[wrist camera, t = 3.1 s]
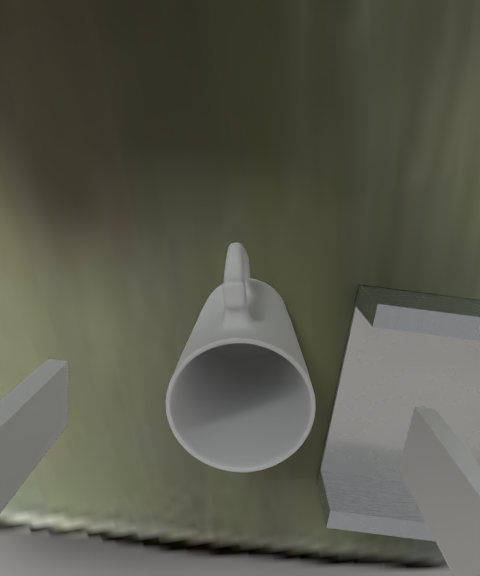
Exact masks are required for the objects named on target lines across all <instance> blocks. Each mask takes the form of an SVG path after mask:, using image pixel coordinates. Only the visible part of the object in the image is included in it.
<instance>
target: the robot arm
mask: <svg viewBox="0 0 480 576" xmlns="http://www.w3.org/2000/svg"><path fill="white" fill-rule="evenodd" d="M68 362H69V361H61V360H54V359H47V360H46V361H45V362H44V363H43V364H42V365H40V366H39V367H38V368H37V369H36V370H35V371H34V372H32V373H31V374H30V375H29V376H28V377H27V378H25V379H24V380H23V381H22V382H21V383H20V384H18V385H17V386H16V387H15V388H14V389H13V390H11V391H10V392H9V393H8V394H7V395H6V396H4V397H3V398H2V399H1V400H0V513H1V512H2V510H3V509H4V508H5V506H6V505H7V504H8V502H9V501H10V500H11V498H12V497H13V496H14V495H15V493H16V492H17V491H18V489H19V488H20V487H21V485H22V484H23V483H24V481H25V480H26V479H27V478H28V476H29V475H30V474H31V472H32V471H33V470H34V468H35V467H36V466H37V464H38V463H39V462H40V461H41V459H42V458H43V457H44V455H45V454H46V453H47V451H48V450H49V449H50V447H51V446H52V445H53V444H54V442H55V441H56V440H57V438H58V437H59V436H60V434H61V433H62V432H63V430H64V429H65V428H66V427H67V419H68ZM398 469H399V471H400V473H401V475H402V476H403V478H404V480H405V482H406V484H407V486H408V488H409V490H410V492H411V494H412V496H413V498H414V500H415V502H416V504H417V506H418V508H419V510H420V512H421V514H422V516H423V518H424V520H425V522H426V524H427V526H428V528H429V530H430V532H431V533H432V535H433V537H434V539H435V541H436V543H437V545H438V547H439V549H440V551H441V553H442V555H443V557H444V559H445V561H446V563H447V565H448V567H449V569H450V571H451V573H452V575H453V576H480V464H479V463H478V462H477V461H476V459H475V458H474V457H473V456H472V454H471V453H470V452H469V451H468V449H467V448H466V447H465V446H464V444H463V443H462V442H461V441H460V439H459V438H458V437H457V436H456V434H455V433H454V432H453V431H452V429H451V428H450V427H449V426H448V424H447V423H446V422H445V421H444V419H443V418H442V417H441V416H440V415H439V413H438V412H437V411H436V410H435V409H431V408H423V407H416V406H415V408H414V412H413V415H412V419H411V423H410V427H409V430H408V434H407V438H406V441H405V445H404V449H403V453H402V456H401V460H400V464H399V468H398Z"/></svg>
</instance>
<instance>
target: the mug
mask: <svg viewBox="0 0 480 576" xmlns="http://www.w3.org/2000/svg"><path fill="white" fill-rule="evenodd" d="M315 409H316V403H315V394H314V390H313V387H312V384H311V381H310V377H309V373H308V370H307V367H306V364H305V361H304V358H303V355H302V352H301V349H300V346H299V343H298V340H297V337H296V334H295V331H294V328H293V325H292V322H291V319H290V317H289V314H288V312H287V309H286V306H285V303H284V301H283V299H282V298H281V296H280V295H279V294H278V292H277V291H276V290H275V289H274V288H272V287H271V286H270V285H268V284H266V283H265V282H262V281H260V280H257V279H252V278H250V267H249V258H248V255H247V253H246V250H245V248H244V247H243V245H242V244H240V243H231V244H230V245H229V247H228V251H227V257H226V264H225V272H224V283H223V284H221V285H220V286H218V287H217V288H216V289H215V290H214V291H213V292H212V293H211V294H210V296H209V297H208V299H207V301H206V303H205V305H204V307H203V309H202V310H201V313H200V315H199V317H198V320H197V322H196V324H195V326H194V328H193V331H192V333H191V335H190V337H189V339H188V341H187V344H186V346H185V348H184V350H183V352H182V355H181V357H180V359H179V362H178V364H177V367H176V369H175V372H174V374H173V376H172V378H171V380H170V383H169V386H168V389H167V394H166V413H167V418H168V422H169V425H170V427H171V430H172V432H173V434H174V435H175V437H176V438H177V440H178V441H179V443H180V444H181V445H182V446H183V447H184V448H185V449H186V450H187V451H188V452H189V453H190V454H191V455H193V456H194V457H195V458H197V459H198V460H200V461H202V462H203V463H205V464H207V465H210V466H212V467H215V468H218V469H221V470H225V471H231V472H254V471H259V470H263V469H266V468H269V467H272V466H274V465H277V464H279V463H280V462H282V461H284V460H285V459H287V458H288V457H290V456H291V455H292V454H293V453H295V452H296V451H297V450H298V449H299V447H300V446H301V445H302V444H303V443H304V441H305V440H306V438H307V436H308V435H309V433H310V430H311V428H312V425H313V422H314V418H315Z"/></svg>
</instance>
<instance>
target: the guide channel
mask: <svg viewBox="0 0 480 576" xmlns="http://www.w3.org/2000/svg"><path fill="white" fill-rule="evenodd" d="M415 406H416V407H423V408H431V409H435V410H436V411H437V412H438V413H439V415H440V416H441V417H442V418H443V419H444V421H445V422H446V423H447V424H448V426H449V427H450V428H451V429H452V431H453V432H454V433H455V434H456V436H457V437H458V438H459V439H460V441H461V442H462V443H463V444H464V446H465V447H466V448H467V449H468V451H469V452H470V453H471V454H472V456H473V457H474V458H475V459H476V461H477V462H478V463H479V464H480V300H473V299H465V298H457V297H450V296H442V295H434V294H427V293H419V292H411V291H403V290H396V289H388V288H380V287H373V286H365V285H359V286H358V291H357V295H356V300H355V305H354V309H353V314H352V319H351V323H350V328H349V333H348V337H347V342H346V347H345V351H344V356H343V361H342V365H341V370H340V375H339V380H338V384H337V389H336V394H335V398H334V403H333V408H332V412H331V417H330V422H329V426H328V431H327V436H326V440H325V445H324V450H323V454H322V459H321V464H320V468H319V473H318V478H317V486H318V491H319V495H320V500H321V505H322V509H323V514H324V519H325V524H326V528H332V529H340V530H348V531H356V532H364V533H372V534H380V535H388V536H396V537H403V538H411V539H419V540H427V541H435V539H434V537H433V535H432V533H431V532H430V530H429V528H428V526H427V524H426V522H425V520H424V518H423V516H422V514H421V512H420V510H419V508H418V506H417V504H416V502H415V500H414V498H413V496H412V494H411V492H410V490H409V488H408V486H407V484H406V482H405V480H404V478H403V476H402V475H401V473H400V471H399V469H398V468H399V464H400V460H401V456H402V453H403V449H404V445H405V441H406V438H407V434H408V430H409V427H410V423H411V419H412V415H413V412H414V408H415ZM435 542H436V541H435Z"/></svg>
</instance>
